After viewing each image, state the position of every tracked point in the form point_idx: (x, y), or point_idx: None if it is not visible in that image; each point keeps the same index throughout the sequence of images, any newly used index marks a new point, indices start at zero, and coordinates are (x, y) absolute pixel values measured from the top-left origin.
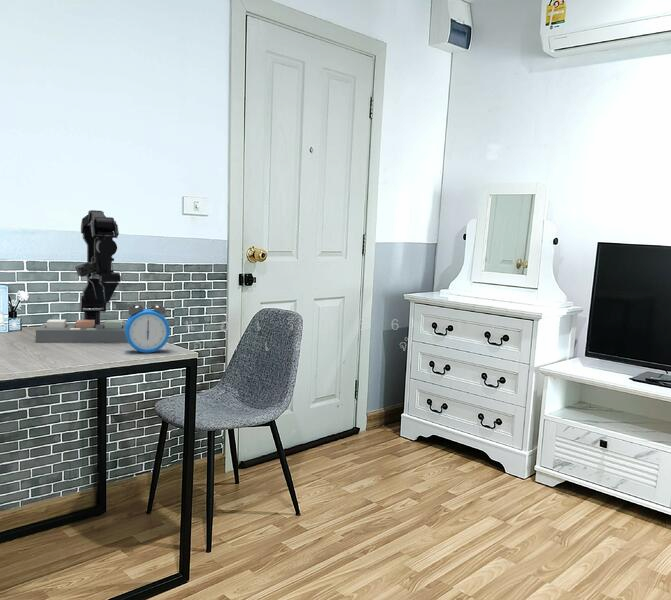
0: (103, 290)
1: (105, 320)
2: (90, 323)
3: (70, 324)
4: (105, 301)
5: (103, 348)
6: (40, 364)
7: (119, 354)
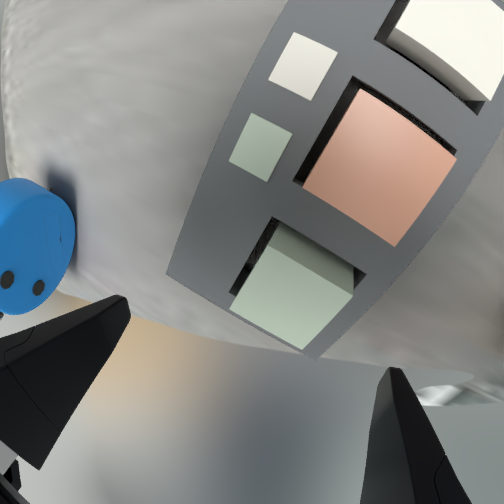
0: (28, 346)
1: (333, 284)
2: (311, 171)
3: (491, 139)
4: (111, 297)
5: (116, 128)
6: None
7: (47, 145)
